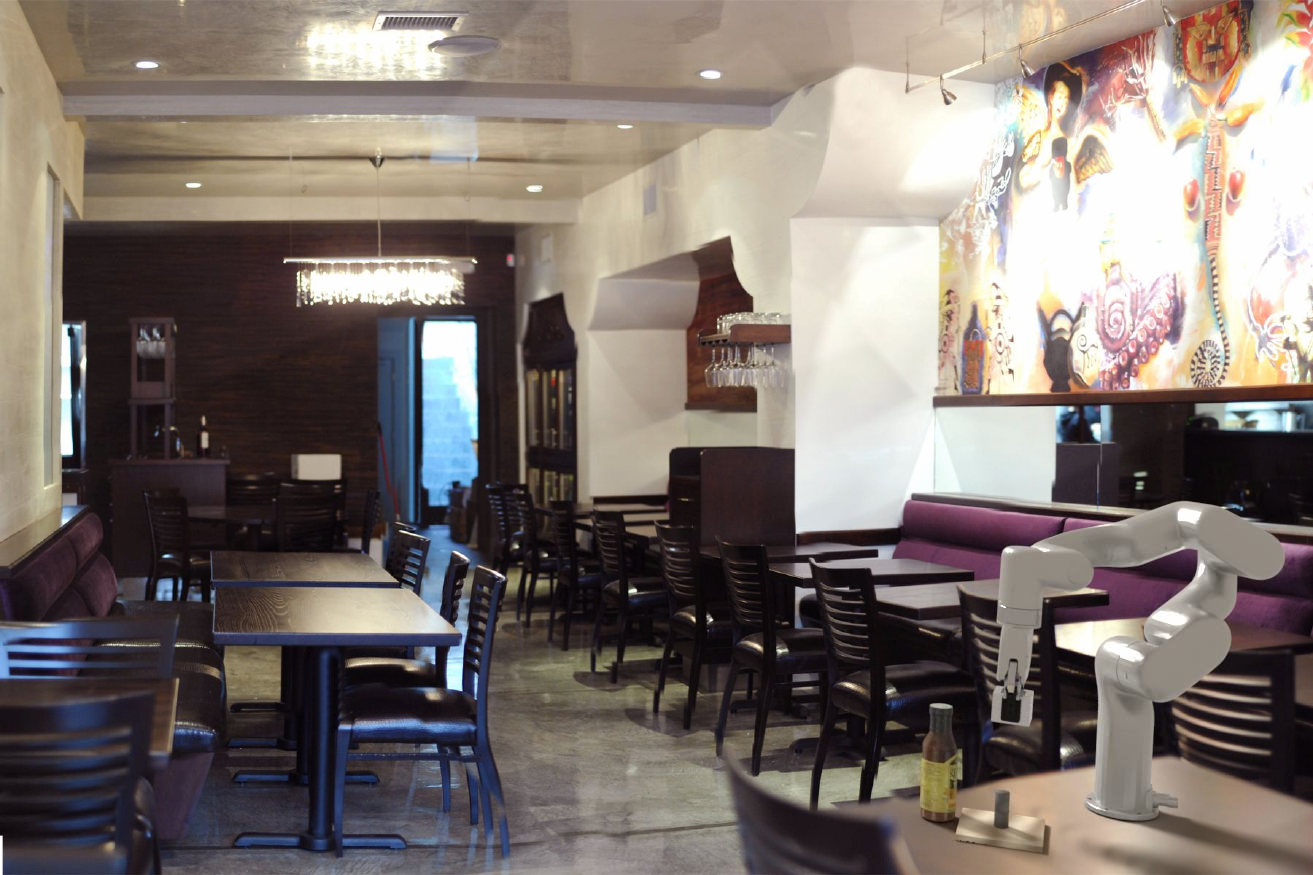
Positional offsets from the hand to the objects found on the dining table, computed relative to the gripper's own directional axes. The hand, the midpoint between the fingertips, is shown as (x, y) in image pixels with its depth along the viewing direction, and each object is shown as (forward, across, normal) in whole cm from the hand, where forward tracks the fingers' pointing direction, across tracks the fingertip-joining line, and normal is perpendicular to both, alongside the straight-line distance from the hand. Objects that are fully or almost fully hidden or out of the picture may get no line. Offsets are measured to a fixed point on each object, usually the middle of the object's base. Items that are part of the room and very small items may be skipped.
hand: (1011, 715), depth 214 cm
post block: (+18, +8, 0) cm, 20 cm away
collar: (+1, 0, 0) cm, 1 cm away
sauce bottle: (+19, +6, -11) cm, 22 cm away
